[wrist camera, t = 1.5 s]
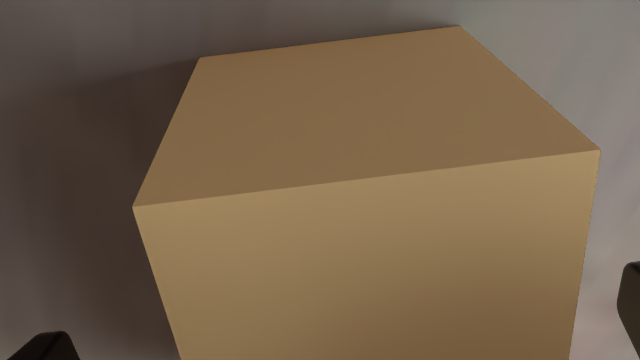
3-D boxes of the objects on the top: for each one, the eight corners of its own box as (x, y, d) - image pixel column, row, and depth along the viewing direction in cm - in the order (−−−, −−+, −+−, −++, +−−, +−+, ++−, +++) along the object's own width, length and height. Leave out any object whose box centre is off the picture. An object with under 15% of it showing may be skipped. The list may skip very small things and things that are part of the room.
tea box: (457, 23, 10) (600, 149, 5) (453, 338, 13) (536, 566, 9) (192, 56, 10) (115, 208, 5) (261, 362, 13) (249, 600, 9)
